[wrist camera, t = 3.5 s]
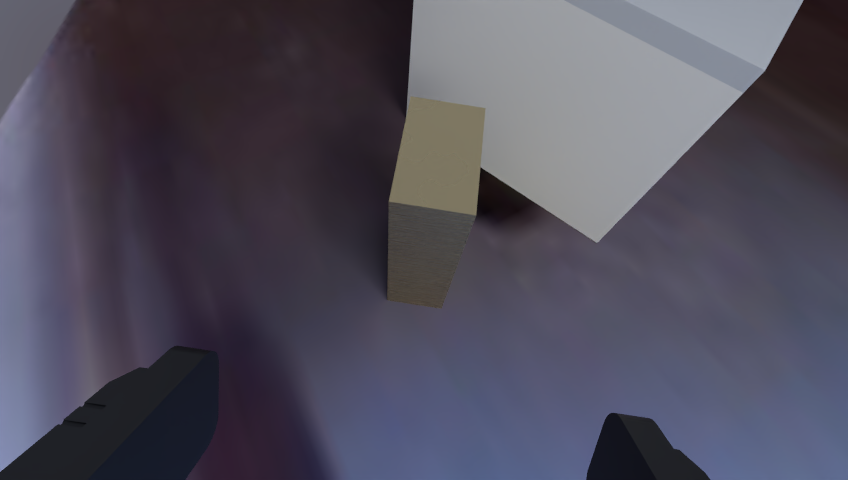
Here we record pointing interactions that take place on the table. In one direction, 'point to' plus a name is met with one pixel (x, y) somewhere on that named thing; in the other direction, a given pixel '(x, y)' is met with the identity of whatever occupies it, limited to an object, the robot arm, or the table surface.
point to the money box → (591, 87)
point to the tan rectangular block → (433, 198)
